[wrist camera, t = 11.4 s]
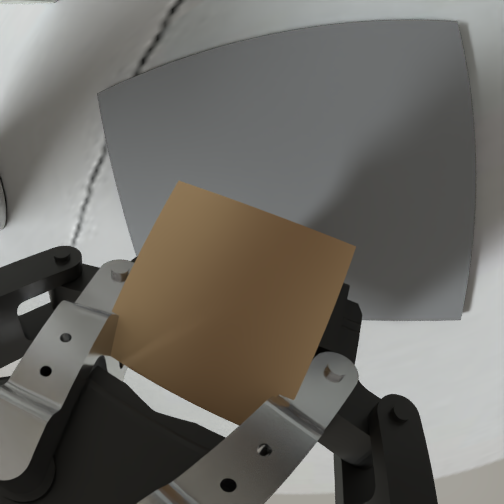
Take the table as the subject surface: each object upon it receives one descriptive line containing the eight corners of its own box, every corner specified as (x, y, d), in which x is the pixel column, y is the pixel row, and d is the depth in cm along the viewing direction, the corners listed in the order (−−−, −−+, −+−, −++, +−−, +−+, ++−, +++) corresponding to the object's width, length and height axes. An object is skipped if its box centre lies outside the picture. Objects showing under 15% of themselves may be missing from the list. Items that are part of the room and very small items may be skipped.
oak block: (193, 351, 15) (96, 346, 7) (231, 269, 16) (178, 180, 8) (278, 389, 14) (274, 440, 6) (315, 304, 15) (356, 246, 7)
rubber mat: (157, 300, 23) (152, 305, 22) (103, 93, 17) (97, 93, 17) (459, 313, 15) (460, 320, 15) (454, 24, 9) (457, 21, 9)
